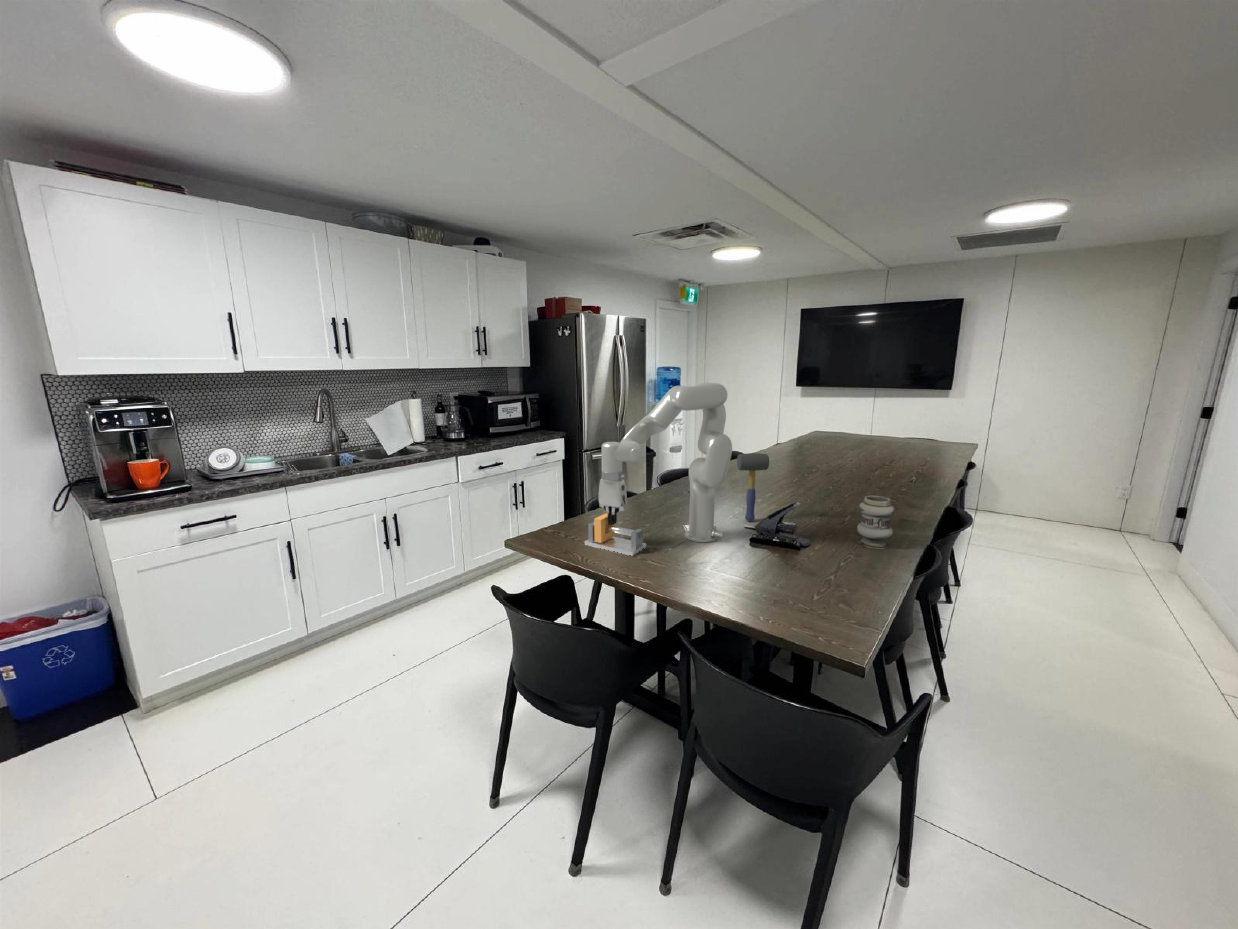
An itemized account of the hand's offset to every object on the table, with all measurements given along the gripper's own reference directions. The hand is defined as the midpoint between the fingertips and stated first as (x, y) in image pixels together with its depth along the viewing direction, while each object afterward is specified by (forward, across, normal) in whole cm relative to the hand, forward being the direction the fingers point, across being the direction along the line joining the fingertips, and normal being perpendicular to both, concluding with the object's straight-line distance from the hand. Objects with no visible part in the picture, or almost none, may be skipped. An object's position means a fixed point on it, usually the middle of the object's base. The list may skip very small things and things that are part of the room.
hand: (612, 523), depth 178 cm
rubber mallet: (+9, -35, -56) cm, 67 cm away
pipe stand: (+9, -1, 0) cm, 9 cm away
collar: (+7, +4, 0) cm, 7 cm away
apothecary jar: (+9, -83, -53) cm, 99 cm away
